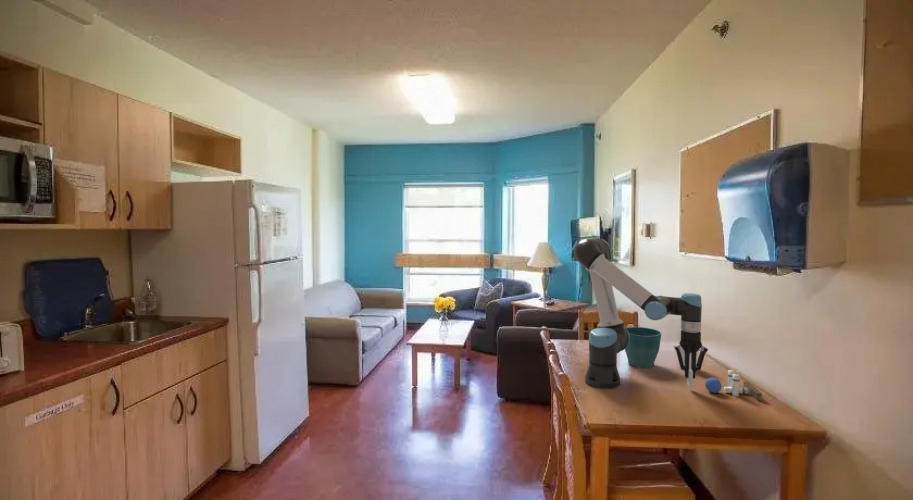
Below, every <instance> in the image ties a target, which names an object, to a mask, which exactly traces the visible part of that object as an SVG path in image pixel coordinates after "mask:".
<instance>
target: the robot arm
mask: <svg viewBox="0 0 913 500" xmlns="http://www.w3.org/2000/svg"><path fill="white" fill-rule="evenodd" d="M573 252H574V253H573V254H574V257H575V258H576V260H577V262H578V263H579V264H581V266H583V267H584V269H585V270H587V271H588V272H589V276H590V280H591V284H592V289H593V294H594V298H595V303H596V307H597V313H598V317H599V318H598V319H599V323H598V324H597V328H596V327H595V328H594V329H592V330H590V332H589V335H588V336H589V337H588V366H587V369H586V372H585V373H584V374H585V375H584V382H585V383H586V384H587V385H589V386H591V387H594V388H599V389H615V388H618V387H620V386H621V385H622V384H621V382H622V381H621V379H622V378H621V376H620V374H619V370H618V367H617V359H618V358H617V356H618V353H620V352H622V351H625V348H626V347H627V346H628V344H629V342H630V334H629V332H628V330H627V329H626V328H627V327H625V325H624V324H625V323H624V321H623V320H622V319H621V318H620V316H619V312H618V307H617V302H616V298H615V294H614V290H613V287H614V289H616V290H617V291H619V292H620V293H621V294H622V295H623V296H625V297H626V298H627V299H628V300H630V301H631V302H632V303H633V304H635V305H636V306H638V308H640V309H641V310H642V311H644V314H645V316H646V317H647V318H648V319H649V320H651V321H660V320H662V319H664V318H666V317H667V316H668V315H673V316H680V329H681V330H680V341H679V342H678V343H679V344H677V345H673V348H674V350H675V353H676V357H677V361H678V366H679V365H680V367H681V368H680V367H679V368H680V369H681V370H684V378H685V379H686V385H687V387H688V388H693V386H694V385H693V384H694V382H693V381H694V379H696V372H697V371H700V370H701V369H702V366H703V362H704V358H705V356H706V353H708V350H709V349H708V348H707V347H706V346H704V345H703V344H702V332H701V331H702V309H703V305H702V296H701V295H700V294H697V293H692V292H691V293H687V292H686V293H685V292H684V293H682V294H681V296H680V297H674V296H663V295H654V294H653V293H652V292H650V291H649V290H647V289H646V288H645V287H644V286H643V285H641V284H640V283H639V282H637V281H636V280H634V278H632V277H631V276H629V275H628V274H627V273H625V272H624V271H623V270H621V269H620V268H619V267H617V266H616V265H615V264H613V263H612V262H611V259H610V257H611V254H612V249H611V246H610V244H609V242H607V241H606V240H605V239H603V238H598V237H595V238H594V237H593V238H584V239H581V240H580V241H578V242H577V244H575V246H574V250H573ZM680 347H682V349H683V350H684V351H685V366H684V364H683V360H682V356H681V352H680V350H681V348H680ZM697 351H698V352H699V351H700V352H699V353H698V361H697V364H696V355H697ZM690 353H691V370H689V355H690Z"/></svg>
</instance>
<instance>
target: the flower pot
mask: <svg viewBox="0 0 913 500" xmlns="http://www.w3.org/2000/svg"><path fill="white" fill-rule="evenodd" d="M625 328H626V329H627V330H628V332H629V334H630V342H629V344H628V346H627V347H626V348H625V349H624V352H625V353H626V357H627V362H628V363H627V364H628V365H630V366H632V367H635V368H642V369H648V368H653V367H654V366H655V361H656V359H657V357H658V354H659V352H660V346H661V340H662V334H663V333H662V332H661V331H660V330H658V329H654V328H649V327H643V326H641V327H640V326H627V327H625Z"/></svg>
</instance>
